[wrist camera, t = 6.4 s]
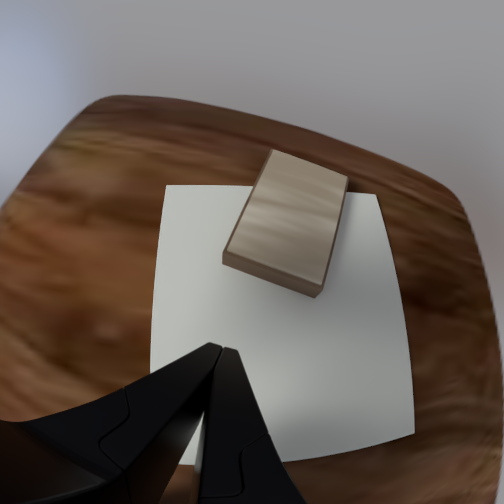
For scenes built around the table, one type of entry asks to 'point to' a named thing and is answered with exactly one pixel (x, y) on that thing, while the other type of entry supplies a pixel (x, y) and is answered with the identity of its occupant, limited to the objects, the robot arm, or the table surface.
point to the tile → (289, 224)
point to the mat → (289, 325)
